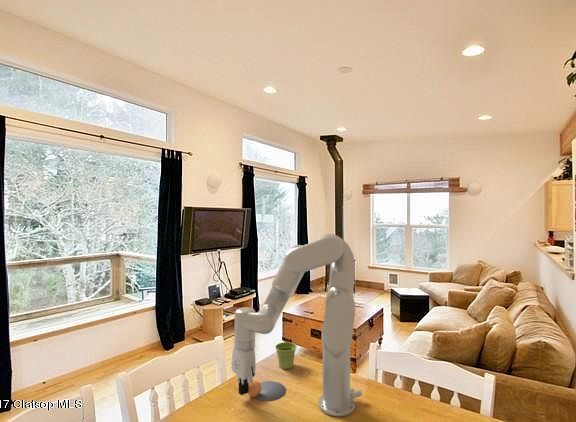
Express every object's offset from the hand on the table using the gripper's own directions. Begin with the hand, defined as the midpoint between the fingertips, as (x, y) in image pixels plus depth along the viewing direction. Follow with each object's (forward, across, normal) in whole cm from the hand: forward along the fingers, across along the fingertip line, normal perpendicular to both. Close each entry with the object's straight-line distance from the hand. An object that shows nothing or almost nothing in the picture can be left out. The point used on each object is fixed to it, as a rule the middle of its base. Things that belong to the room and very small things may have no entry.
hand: (243, 393), depth 121 cm
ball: (0, 0, +4) cm, 4 cm away
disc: (+2, +1, +10) cm, 11 cm away
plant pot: (+2, -11, +27) cm, 29 cm away
